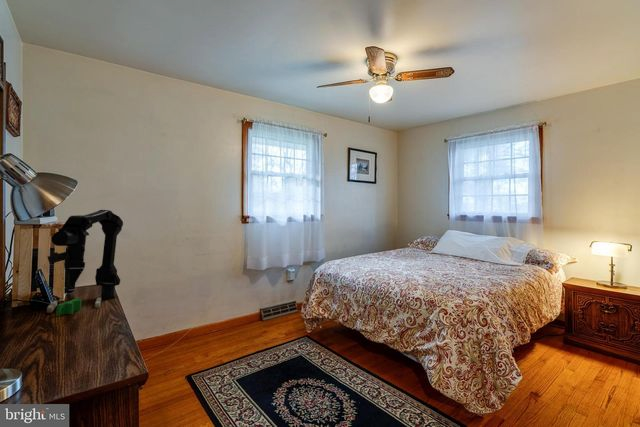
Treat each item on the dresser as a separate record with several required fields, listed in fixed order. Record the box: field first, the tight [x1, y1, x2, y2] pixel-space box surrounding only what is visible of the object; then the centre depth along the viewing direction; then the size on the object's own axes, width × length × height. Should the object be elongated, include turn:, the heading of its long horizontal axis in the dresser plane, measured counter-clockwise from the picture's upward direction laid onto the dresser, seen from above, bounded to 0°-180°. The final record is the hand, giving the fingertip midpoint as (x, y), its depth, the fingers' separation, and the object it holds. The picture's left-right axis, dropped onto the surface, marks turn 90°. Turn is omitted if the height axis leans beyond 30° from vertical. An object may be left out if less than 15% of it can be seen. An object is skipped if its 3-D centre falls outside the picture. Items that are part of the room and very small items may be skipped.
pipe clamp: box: [55, 297, 82, 317], centre depth 127 cm, size 11×4×5 cm, turn 3°
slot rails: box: [46, 296, 102, 314], centre depth 134 cm, size 12×18×2 cm
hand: (71, 284), depth 123 cm, fingers open, 9 cm apart
